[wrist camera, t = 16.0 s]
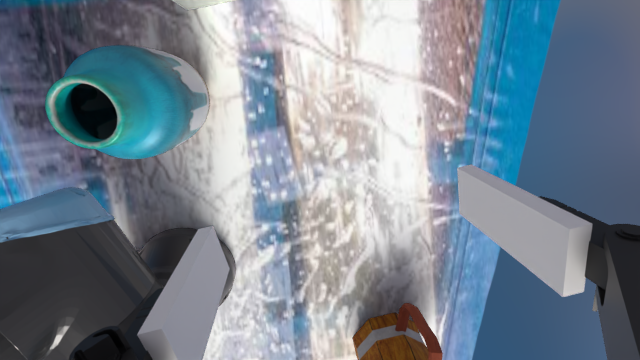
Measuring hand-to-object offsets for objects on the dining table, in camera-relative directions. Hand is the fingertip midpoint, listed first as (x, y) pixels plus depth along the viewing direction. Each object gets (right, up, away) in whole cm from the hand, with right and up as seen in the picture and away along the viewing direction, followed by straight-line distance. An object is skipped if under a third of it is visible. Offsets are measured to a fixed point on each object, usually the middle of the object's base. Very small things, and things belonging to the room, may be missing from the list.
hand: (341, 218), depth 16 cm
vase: (-20, +13, +24) cm, 34 cm away
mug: (+12, -26, +42) cm, 51 cm away
